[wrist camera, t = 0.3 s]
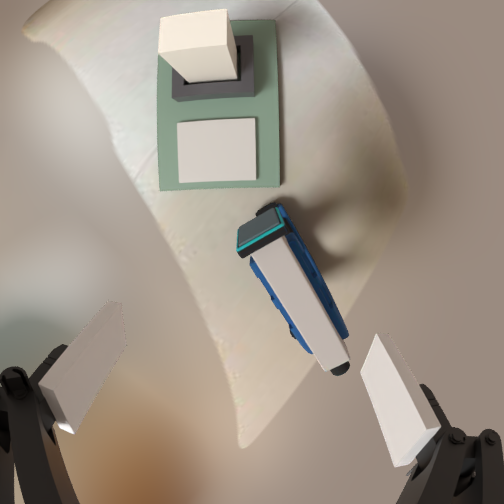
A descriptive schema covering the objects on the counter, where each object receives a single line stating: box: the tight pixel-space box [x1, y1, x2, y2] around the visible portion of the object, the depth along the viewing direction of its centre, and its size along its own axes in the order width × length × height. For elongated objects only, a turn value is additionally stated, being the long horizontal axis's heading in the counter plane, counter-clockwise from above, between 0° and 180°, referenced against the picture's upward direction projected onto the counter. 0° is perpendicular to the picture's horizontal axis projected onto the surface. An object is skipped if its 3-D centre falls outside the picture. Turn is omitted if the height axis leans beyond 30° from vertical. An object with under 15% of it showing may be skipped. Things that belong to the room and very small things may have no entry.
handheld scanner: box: [236, 202, 350, 376], centre depth 31 cm, size 5×16×20 cm, turn 31°
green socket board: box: [157, 20, 280, 191], centre depth 33 cm, size 24×16×4 cm, turn 1°
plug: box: [158, 9, 239, 85], centre depth 26 cm, size 4×6×14 cm, turn 91°
